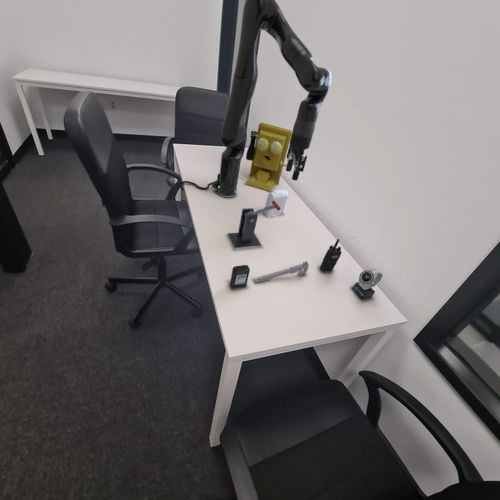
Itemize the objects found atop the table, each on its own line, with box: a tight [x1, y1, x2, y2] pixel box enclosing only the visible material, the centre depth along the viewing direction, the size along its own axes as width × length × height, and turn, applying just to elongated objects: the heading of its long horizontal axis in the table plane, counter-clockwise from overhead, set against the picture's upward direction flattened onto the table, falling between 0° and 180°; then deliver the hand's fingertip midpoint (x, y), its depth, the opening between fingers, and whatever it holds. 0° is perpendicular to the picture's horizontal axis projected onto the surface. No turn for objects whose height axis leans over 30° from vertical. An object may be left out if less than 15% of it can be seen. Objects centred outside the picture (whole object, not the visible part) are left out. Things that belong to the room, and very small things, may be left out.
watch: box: [352, 268, 384, 301], centre depth 91 cm, size 6×8×11 cm
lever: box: [244, 201, 281, 217], centre depth 99 cm, size 13×5×2 cm, turn 111°
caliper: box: [253, 260, 309, 283], centre depth 91 cm, size 20×1×6 cm, turn 111°
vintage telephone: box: [238, 122, 293, 193], centre depth 142 cm, size 31×14×30 cm, turn 73°
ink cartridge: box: [229, 264, 251, 290], centre depth 84 cm, size 5×2×8 cm, turn 111°
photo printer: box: [264, 189, 289, 217], centre depth 123 cm, size 10×4×12 cm, turn 123°
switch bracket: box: [227, 207, 262, 249], centre depth 101 cm, size 11×9×14 cm
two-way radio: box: [319, 238, 342, 273], centre depth 97 cm, size 6×4×15 cm
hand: (291, 175), depth 106 cm, fingers open, 8 cm apart
